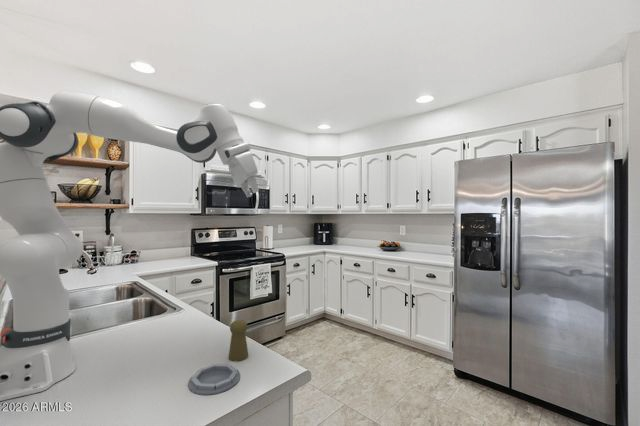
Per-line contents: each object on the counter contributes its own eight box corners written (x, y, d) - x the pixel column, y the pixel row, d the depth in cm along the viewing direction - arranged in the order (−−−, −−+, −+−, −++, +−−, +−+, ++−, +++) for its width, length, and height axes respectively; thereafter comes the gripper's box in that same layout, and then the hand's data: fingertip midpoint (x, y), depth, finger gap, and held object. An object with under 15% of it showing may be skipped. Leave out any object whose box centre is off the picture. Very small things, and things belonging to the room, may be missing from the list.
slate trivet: (199, 402, 70) (199, 395, 70) (181, 379, 79) (181, 373, 79) (248, 381, 79) (248, 375, 79) (226, 363, 88) (226, 357, 88)
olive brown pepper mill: (242, 362, 89) (243, 325, 89) (224, 360, 90) (224, 324, 90) (251, 353, 95) (251, 318, 95) (234, 351, 96) (234, 317, 96)
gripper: (221, 165, 101) (238, 202, 103) (229, 148, 83) (250, 193, 84) (238, 159, 104) (255, 195, 105) (249, 141, 85) (270, 185, 87)
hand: (253, 194), depth 94 cm, fingers open, 8 cm apart
